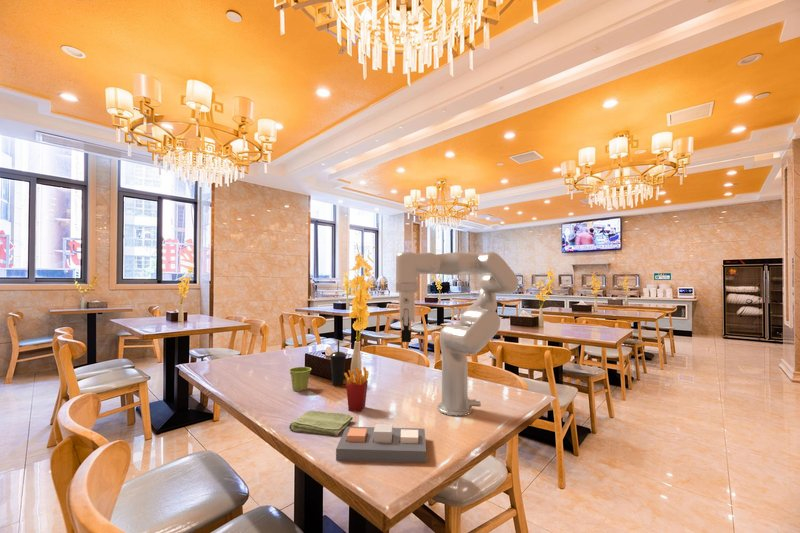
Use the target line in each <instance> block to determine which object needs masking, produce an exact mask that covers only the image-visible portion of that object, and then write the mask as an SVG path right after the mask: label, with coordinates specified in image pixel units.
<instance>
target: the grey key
mask: <svg viewBox="0 0 800 533" xmlns="http://www.w3.org/2000/svg"><path fill="white" fill-rule="evenodd" d="M393 425H394V424H384V423H383V424H382V423H381V424H379V423H378V424H377V423H376V424H375V425H374V427H375V428H374V442H377V443H392V430H393V428H394V427H393Z"/></svg>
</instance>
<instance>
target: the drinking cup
mask: <svg viewBox="0 0 800 533" xmlns="http://www.w3.org/2000/svg"><path fill="white" fill-rule="evenodd" d="M347 354H348V353H345V352H343V351H340V340H337V351H335V352H332V353H330V354H329V357H330V369H331V371H330V372H331V384H332V386H334V387H338V386H339V387H340V386H343V385H344V378H345V375H344V373H345V370H346V360H347V356H348V355H347Z"/></svg>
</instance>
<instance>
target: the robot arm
mask: <svg viewBox="0 0 800 533" xmlns="http://www.w3.org/2000/svg"><path fill="white" fill-rule="evenodd" d="M419 275H447V276H455V275H456V276H460V275H461V276H462V275H464V276H465V275H466V276H467V275H469V276H470V275H474V276H475V275H482V276H481V277H480V278H479V281H478V289H479V290H478V291H479V295H478V297H477V299H476V300H475V301H474V302H473V303H472V304H471V305H470V306H469V307H468V308H466V310H465V311H464V312H463V313H462V314H461V316H460V318H459V324H454V323H450V324H446V325H445V326H443V327H442V328H441V330H440V332H439V345H440V351H441V402H439V403H438V405H437V410H438V411H439V412H440V413H441V414H443V413H444V415H446V414H447V416H452V415H456V416H455V417H458V416H457V415H463V416H466V415H465V414H467V415H469V414H468V413H470V412H471V413H472V412H473V411H472V409H473V408H472V407H481V401H480V400H476V399H474V398H472V399H470V398H469V397H468V380H469V379H468V375H469V374H468V366H469V365H468V364H469V363H468V358H467V355H476V354H477V353H479V352H481V350H483V349H484V347H486V346H487V344H488V343H489V342H490V341H492V339H493V338H494V336H496V334H497V333H498V332H499V329H500V326H501V318H500V315H499V314H498V313H497V312H496V311H497V308H498V302H497V296H496V294H503V295H504V294H505V295H509V294H513V293H515V292H516V291H517V289H518V287H519V279H518V277H517V275H516V274H515V271H513V269H511V267H510V266H509V265H508V263H507V262H506V260H505V259H504V258H503V257H502V256H501V255H500V254H498V253H497V252H493V251H489V252H447V253H440V254H439V253H438V254H436V253H433V252H421V253H416V252H412V251H411V252H409V251H408V252H407V251H406V252H405V251H404V252H403V251H402V252H399V253H397V255H396V256H395V293H398V295H399V296H398V298H399V300H398V302H399V304H398V306H399V307H398V308H399V320H400V322H401V326H402V327H401V343H411V342H412V330H411V321H412V323H414V322H415V320H416V318H415V317H416V316H415V314H416V310H415V309H416V301H415V300H416V299H415V293H418V291H419V290H418V287H419V286H418V279H419V278H418V277H419ZM471 413H470V414H471Z"/></svg>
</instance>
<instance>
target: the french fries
mask: <svg viewBox="0 0 800 533" xmlns="http://www.w3.org/2000/svg"><path fill="white" fill-rule="evenodd" d="M362 371H363V372H362ZM355 372H356V375H355V374H354V373H355ZM348 374H349V375H348ZM344 378H345V379H346V381H347V383H346V385H345V387H346V397H347V398H346V399H347V408H348V411H350V412H363V411H364V409H365V408H366V402H367V401H366V400H367V392H368V391H367V390H368V385H369V383H368V382H369V380H368V379H369V370H367V368H366V366H363V367H362V369H360V368H358V367H355V369H352V371H351V369H348V373H347V372H344Z"/></svg>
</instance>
